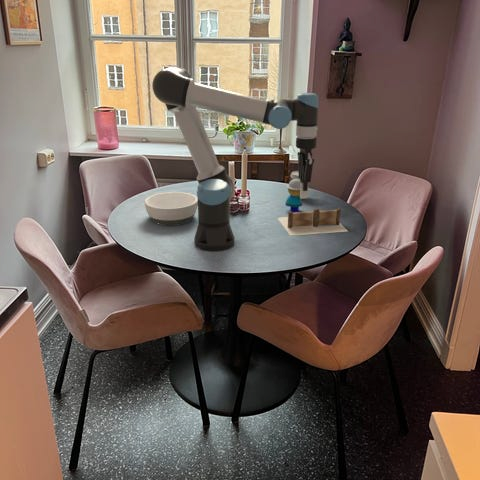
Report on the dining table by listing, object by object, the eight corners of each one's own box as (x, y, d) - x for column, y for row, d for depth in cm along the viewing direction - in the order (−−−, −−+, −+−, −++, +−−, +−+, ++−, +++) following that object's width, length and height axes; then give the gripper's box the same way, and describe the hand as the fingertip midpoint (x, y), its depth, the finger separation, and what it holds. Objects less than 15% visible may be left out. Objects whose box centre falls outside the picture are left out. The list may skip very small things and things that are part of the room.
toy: (303, 215, 211) (305, 182, 205) (283, 214, 212) (285, 181, 207) (305, 209, 219) (307, 176, 213) (286, 207, 220) (287, 175, 214)
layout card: (290, 236, 189) (290, 235, 189) (277, 218, 207) (277, 217, 207) (348, 232, 194) (348, 231, 193) (330, 215, 212) (330, 214, 211)
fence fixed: (313, 227, 197) (314, 210, 195) (311, 225, 200) (312, 208, 197) (340, 225, 199) (341, 208, 197) (338, 223, 202) (339, 206, 199)
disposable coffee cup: (310, 195, 237) (311, 171, 233) (308, 201, 229) (309, 176, 224) (290, 193, 239) (291, 170, 235) (288, 199, 231) (289, 175, 226)
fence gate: (310, 224, 199) (311, 210, 197) (312, 226, 198) (313, 211, 195) (287, 226, 197) (287, 211, 195) (288, 227, 196) (289, 213, 193)
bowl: (142, 212, 215) (141, 194, 211) (192, 207, 221) (191, 189, 218) (150, 230, 195) (148, 211, 192) (204, 224, 201) (203, 205, 198)
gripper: (322, 140, 173) (318, 202, 183) (310, 133, 185) (307, 192, 194) (301, 141, 172) (299, 204, 181) (291, 134, 184) (289, 193, 193)
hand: (303, 197), depth 188 cm, fingers closed
